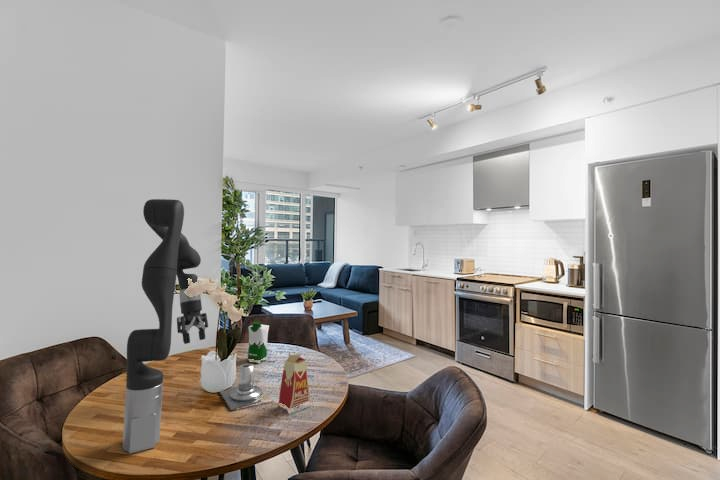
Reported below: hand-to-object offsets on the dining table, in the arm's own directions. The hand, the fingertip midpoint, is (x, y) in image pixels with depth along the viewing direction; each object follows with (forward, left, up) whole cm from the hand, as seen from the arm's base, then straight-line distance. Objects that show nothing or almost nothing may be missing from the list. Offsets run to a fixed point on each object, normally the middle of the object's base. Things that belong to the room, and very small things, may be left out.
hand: (195, 341), depth 133 cm
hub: (-12, -17, -19) cm, 28 cm away
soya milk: (+27, -34, -21) cm, 48 cm away
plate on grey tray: (-12, -17, -21) cm, 30 cm away
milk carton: (-28, -30, -21) cm, 46 cm away
